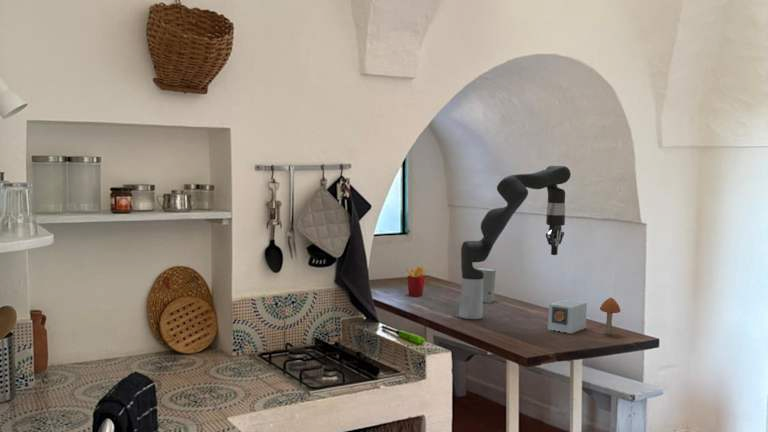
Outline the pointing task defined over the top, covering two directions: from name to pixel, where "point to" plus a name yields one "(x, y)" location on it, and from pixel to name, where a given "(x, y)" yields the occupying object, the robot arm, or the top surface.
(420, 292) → the french fries
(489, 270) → the skincare box
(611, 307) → the mushroom
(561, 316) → the peg
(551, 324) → the block
